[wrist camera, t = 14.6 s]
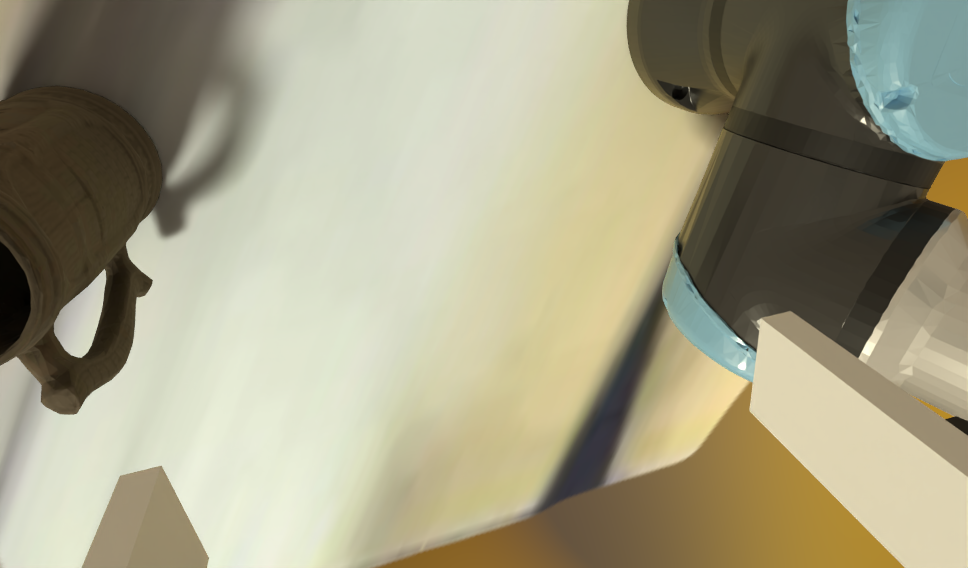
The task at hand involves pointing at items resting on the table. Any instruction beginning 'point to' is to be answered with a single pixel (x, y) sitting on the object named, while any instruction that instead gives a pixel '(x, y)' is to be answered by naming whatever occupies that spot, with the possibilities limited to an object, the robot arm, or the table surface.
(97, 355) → the beer stein
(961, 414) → the robot arm
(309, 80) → the table surface
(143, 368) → the table surface
